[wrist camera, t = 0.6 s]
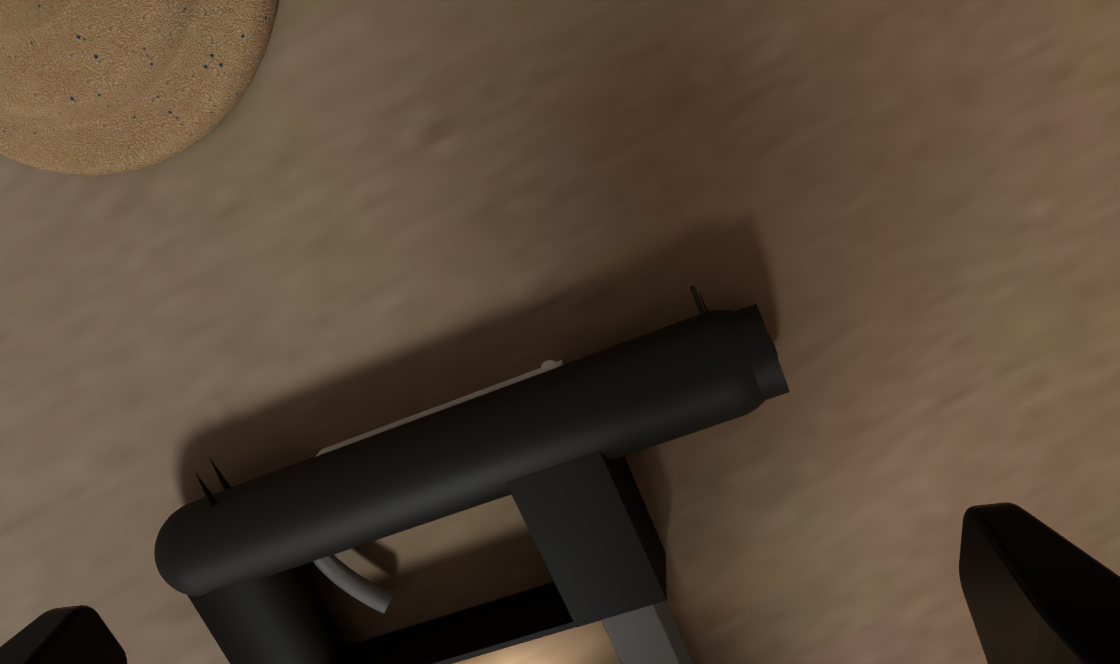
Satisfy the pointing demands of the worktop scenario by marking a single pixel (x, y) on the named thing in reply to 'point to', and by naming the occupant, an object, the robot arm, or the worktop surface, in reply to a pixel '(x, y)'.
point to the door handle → (470, 480)
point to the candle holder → (122, 77)
